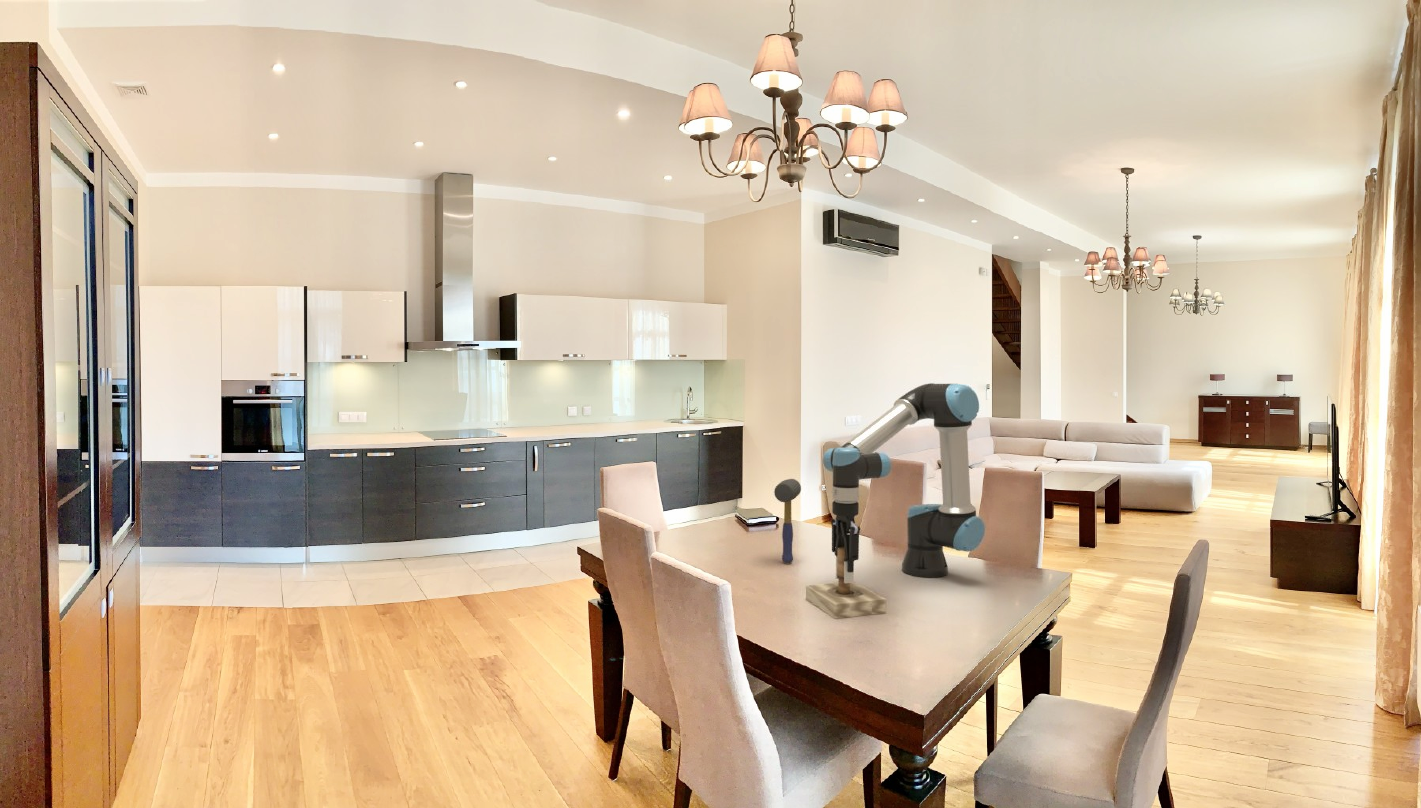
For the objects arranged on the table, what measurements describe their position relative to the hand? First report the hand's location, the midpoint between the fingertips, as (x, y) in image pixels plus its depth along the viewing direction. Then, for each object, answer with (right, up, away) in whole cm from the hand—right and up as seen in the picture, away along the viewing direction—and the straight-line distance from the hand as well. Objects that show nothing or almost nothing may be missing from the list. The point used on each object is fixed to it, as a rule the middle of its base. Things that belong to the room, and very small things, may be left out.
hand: (844, 580), depth 222 cm
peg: (0, -4, 0) cm, 4 cm away
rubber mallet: (-12, -6, +49) cm, 51 cm away
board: (0, -8, 0) cm, 8 cm away
